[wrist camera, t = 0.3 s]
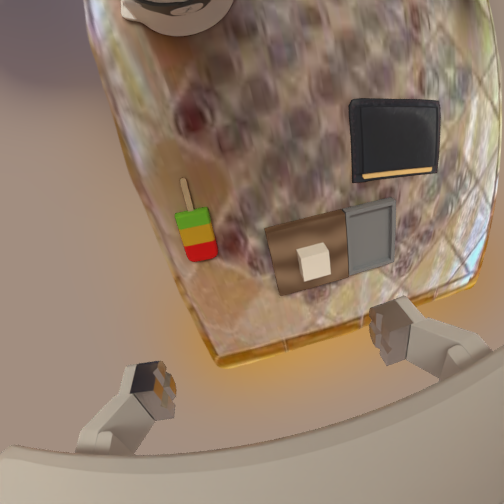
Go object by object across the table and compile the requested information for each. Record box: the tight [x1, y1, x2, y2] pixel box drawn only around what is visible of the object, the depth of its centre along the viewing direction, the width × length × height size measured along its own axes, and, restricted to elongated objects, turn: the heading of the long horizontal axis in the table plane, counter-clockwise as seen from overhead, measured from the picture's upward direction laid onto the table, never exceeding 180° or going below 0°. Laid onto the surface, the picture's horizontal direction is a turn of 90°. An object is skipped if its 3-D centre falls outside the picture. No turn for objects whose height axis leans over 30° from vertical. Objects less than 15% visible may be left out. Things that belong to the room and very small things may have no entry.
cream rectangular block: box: [296, 243, 331, 282], centre depth 53 cm, size 5×5×3 cm
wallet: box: [349, 98, 441, 183], centre depth 46 cm, size 20×2×15 cm
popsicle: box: [175, 178, 218, 262], centre depth 50 cm, size 6×15×2 cm, turn 9°
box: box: [342, 197, 396, 275], centre depth 56 cm, size 14×10×2 cm
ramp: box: [264, 209, 349, 296], centre depth 55 cm, size 14×14×2 cm
